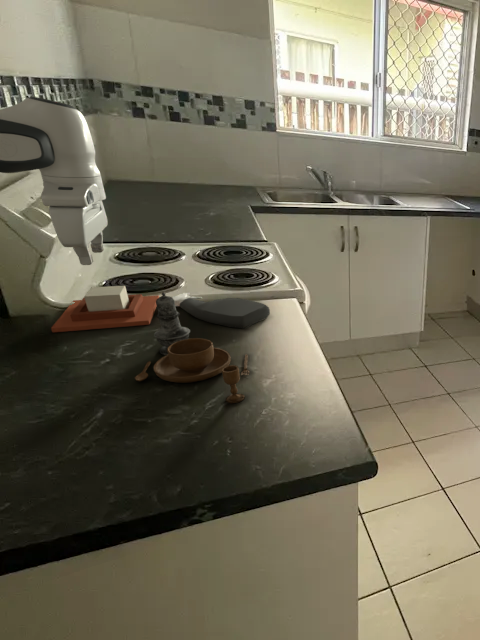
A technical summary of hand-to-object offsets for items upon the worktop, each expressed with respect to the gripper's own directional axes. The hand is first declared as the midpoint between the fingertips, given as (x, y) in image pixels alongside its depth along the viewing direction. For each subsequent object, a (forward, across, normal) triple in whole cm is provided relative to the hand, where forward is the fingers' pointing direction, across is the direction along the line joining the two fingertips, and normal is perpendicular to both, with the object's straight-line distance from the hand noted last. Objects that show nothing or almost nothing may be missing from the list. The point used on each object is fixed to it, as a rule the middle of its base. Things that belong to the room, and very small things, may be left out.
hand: (93, 257), depth 99 cm
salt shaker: (+13, +22, +14) cm, 29 cm away
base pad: (+13, 0, +1) cm, 13 cm away
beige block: (+12, 0, +1) cm, 12 cm away
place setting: (+13, +36, +18) cm, 42 cm away
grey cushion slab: (+13, +4, +20) cm, 24 cm away
